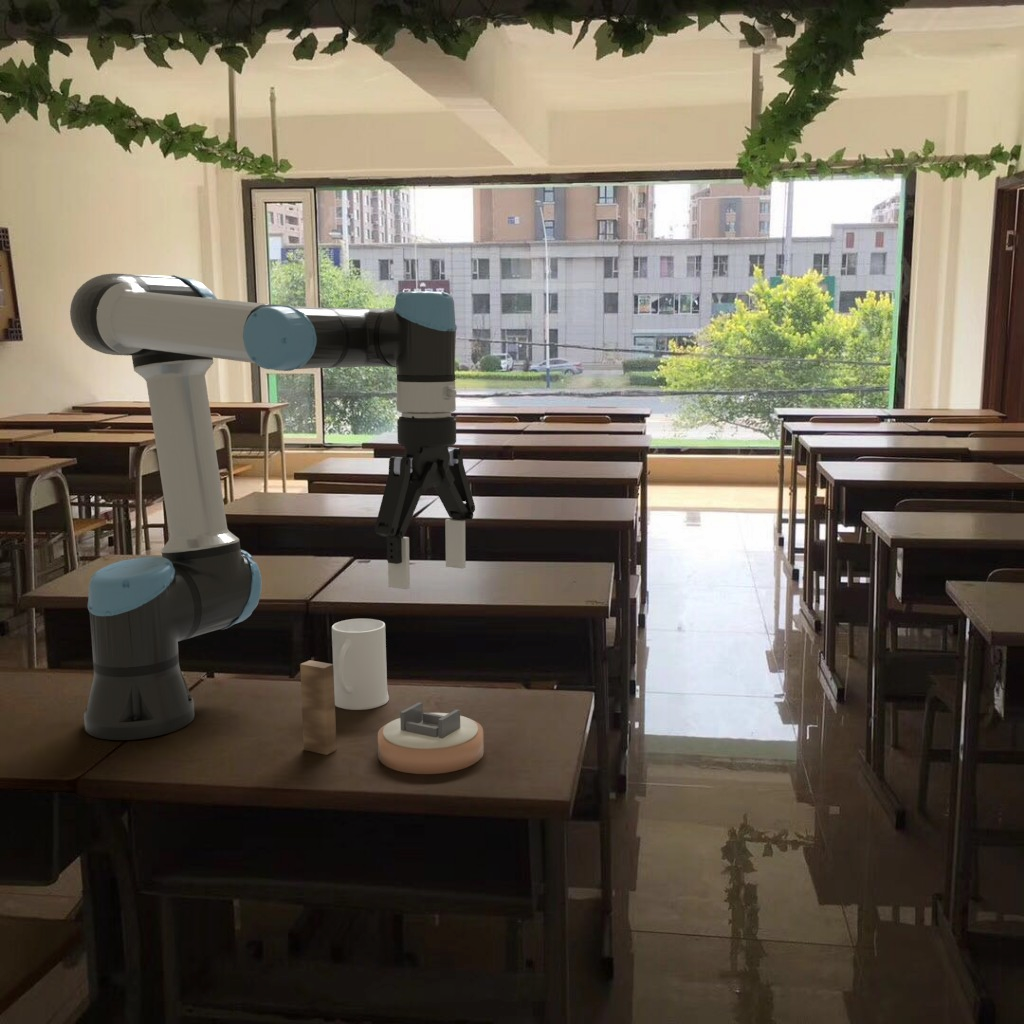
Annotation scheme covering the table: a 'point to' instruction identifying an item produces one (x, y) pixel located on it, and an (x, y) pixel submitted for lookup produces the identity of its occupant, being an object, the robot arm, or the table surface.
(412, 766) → the peach disc
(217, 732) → the table surface
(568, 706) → the table surface
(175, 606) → the robot arm
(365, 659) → the mug
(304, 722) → the tall wooden post
